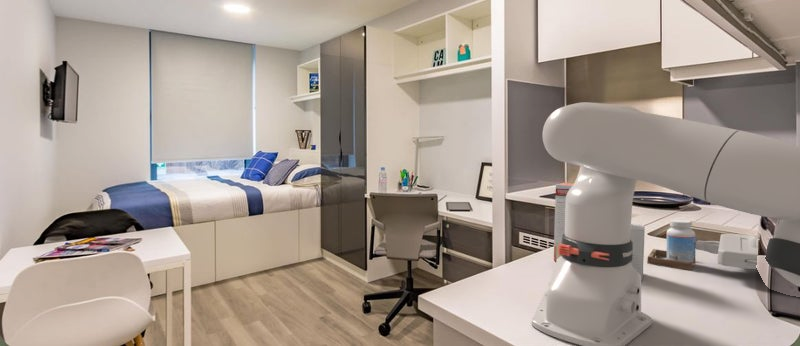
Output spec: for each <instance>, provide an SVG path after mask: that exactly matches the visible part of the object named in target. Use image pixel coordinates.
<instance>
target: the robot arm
mask: <svg viewBox="0 0 800 346" xmlns="http://www.w3.org/2000/svg"><path fill="white" fill-rule="evenodd" d="M541 137H542V143H543V146H544V148H545V150H546V151H547V154H548V155H550V157H552V158H553V159H555V160H556V161H559V162H561V163H562V162H563V163H566V164H571V165H575V166H579V171H578V173H577V176H576V179H575V181H574V182H573V183H574V184H573V186H572V187H571V188H570V189H569V191H568V193H567V195H566V205H565V233H564V234H563V235H562V240H561V244H559V247H558V253H559V255H561V257H559V258H558V259H557V260H556V261H555V262H556V264H555V266H554V269H553V272H552V274H551V278H550V281H549V283H548V286H547V287H548V288H547V290H546V291H545V292H544V293H543V295H542V297H541V299H540V302H539V303H538V306H537V307H536V310H535V312H534V314H533V316H532V319H531V326H532V327H534V328H535V329H537V330H538V331H540V332H542V333H544V334H546V335H549V336H551V337H554V338H557V339H559V340H561V341H565V342H567V343H568V342H569V343H571V344H575V345H579V346H626V345H628V344H629V343H630V342H632V340H634V339H636V338H637V337H638V336H639V335H641V334H642V333H643V332H644V331H645V330H646V329H648V328H649V327H650V326H652V324H653V323H652V316H649V315H648V314H646V313H644V312H643V311H642V281H641V275H640V274H639V273H638V272H637V271H636V270H635V269H634V267H633V266H632V264H631V261H632V256H633V242H632V240H631V239H630V234H631V224H632V213H633V201H634V195H635V191H636V186H637V182H638V181H640V182H644V183H647V184H652V185H655V186H658V187H661V188H665V189H668V190H671V191H673V192H677V193H680V194H682V195H685V196H689V197H692V198H695V199H698V200H701V201H703V202H706V203H710V204H713V205H717V206H720V207H722V208H725V209H726V208H727V209H730V210H734V211H738V212H742V213H746V214H750V215H756V216H760V217H764V218H765V217H766V218H770V219H777V220H779V221H778V224H777V226H776V229H775V232H774V235H773V236H774V238H770V239H769V242H768V245H767V249H766V257H765V259H766V261H767V262H768V264H769V265H770V267H771V268H772V269H774V270H775V271H777V272H778V273H779V274H780V275H781V276H780V277H783V278H784V279H786V280H787V281H788V282H790V283H791V284H793V285H795V286H797V287H799V288H800V146H799V145H796V144H793V143H790V142H787V141H783V140H780V139H777V138H774V137H771V136H766V135H762V134H759V133H754V132H749V131H746V130H745V131H744V130H741V129H740V130H739V129H735V128H730V127H726V126H721V125H720V126H719V125H716V124H712V123H711V124H710V123H705V122H702V121H695V120H690V119H687V118H686V119H685V118H681V117H676V116H675V117H674V116H668V115H661V114H657V113H650V112H644V111H641V110H639V109H637V108H635V107H632V106H630V105H626V104H613V103H601V102H600V103H599V102H591V101H590V102H587V101H585V102H581V101H580V102H576V103H572V104H568V105H565V106H561V107H559V108H557V109H555V110H554V111H553V112H552V113H550V114H549V116H548V117H547V118H546V121H545V122H544V125H543V127H542V135H541ZM758 237H759V235H754V234H742V233H741V234H740V233H721V234H720V238H719V241H717V240H698V239H697V240H695V250H696V251H697V250H698V251H703V252H707V253H710V254H715V255H717V265H718V264H719V265H720V266H725V267H730V268H737V269H739V268H740V269H747V270H757V269H756V265H757V256H758Z"/></svg>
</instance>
